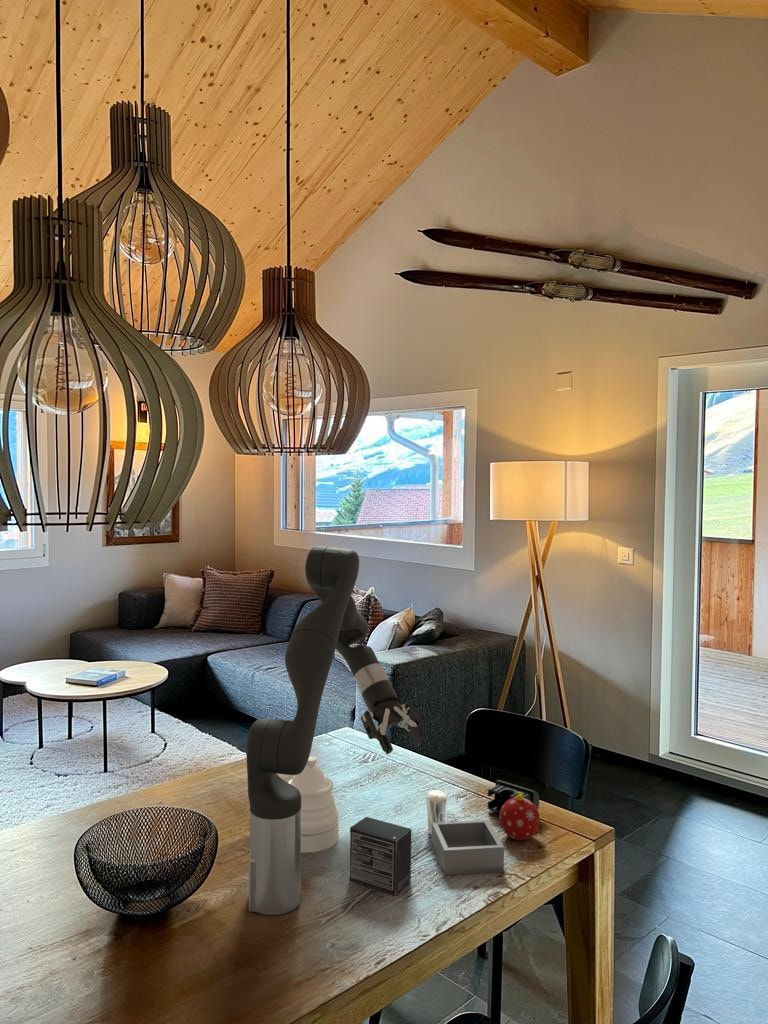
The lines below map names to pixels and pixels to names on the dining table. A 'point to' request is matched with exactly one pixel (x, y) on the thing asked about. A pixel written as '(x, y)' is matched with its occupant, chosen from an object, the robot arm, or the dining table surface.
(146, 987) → the dining table surface
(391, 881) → the small box
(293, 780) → the honey pot
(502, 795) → the end cap
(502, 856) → the bin
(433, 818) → the milkshake
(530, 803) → the christmas ornament
